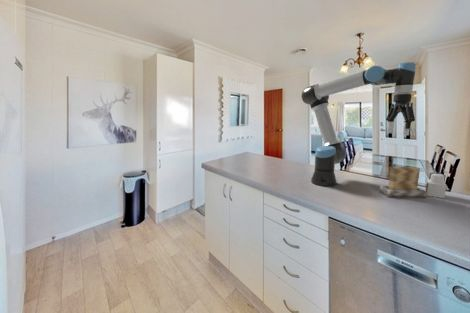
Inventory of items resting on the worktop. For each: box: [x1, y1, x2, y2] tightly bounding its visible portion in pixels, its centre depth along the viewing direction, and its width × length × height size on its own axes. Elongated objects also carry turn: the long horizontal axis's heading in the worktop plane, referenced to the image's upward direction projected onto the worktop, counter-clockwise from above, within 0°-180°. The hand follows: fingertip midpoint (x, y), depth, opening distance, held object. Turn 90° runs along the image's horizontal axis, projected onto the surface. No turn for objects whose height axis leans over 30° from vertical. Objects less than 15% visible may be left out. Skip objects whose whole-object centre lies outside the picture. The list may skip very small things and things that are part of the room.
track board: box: [378, 185, 427, 199], centre depth 116 cm, size 18×9×4 cm, turn 85°
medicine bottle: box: [425, 172, 447, 199], centre depth 113 cm, size 7×7×12 cm
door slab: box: [387, 166, 421, 190], centre depth 115 cm, size 12×4×14 cm, turn 85°
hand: (397, 134), depth 118 cm, fingers open, 13 cm apart
